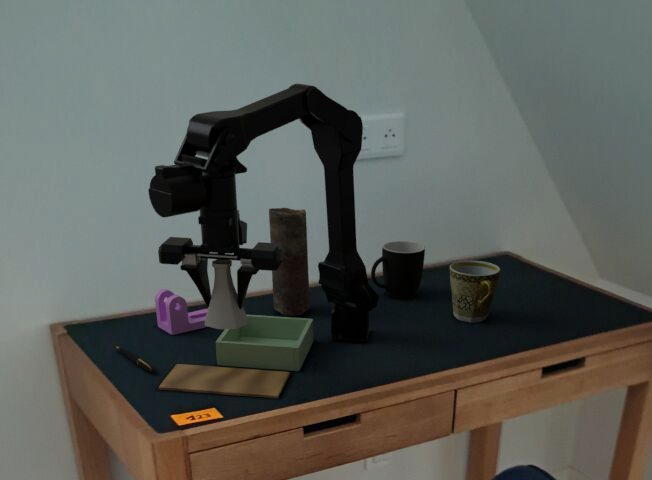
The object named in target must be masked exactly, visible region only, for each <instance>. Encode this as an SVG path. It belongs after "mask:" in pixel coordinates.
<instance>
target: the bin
mask: <svg viewBox="0 0 652 480" xmlns="http://www.w3.org/2000/svg"><path fill="white" fill-rule="evenodd" d="M246 316H247V324H246V325H244V326H242V327H240V328H237V329H223V331H222V332H221V334H220V335H219V337H218V338H216V341H215V353H216V365H217V366H219V367H233V368H247V369H261V370H275V371H288V372H290V371H291V372H300V370H301V368H302V366H303V365H304V362H305V360H306V358H307V356H308V353H309V351H310V349H311V348H312V345H313V343H314V318H306V317H305V318H304V317H303V318H302V317H292V316H276V315H259V314H246Z"/></svg>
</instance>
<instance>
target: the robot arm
mask: <svg viewBox="0 0 652 480" xmlns="http://www.w3.org/2000/svg"><path fill="white" fill-rule="evenodd" d="M297 120H299V121H300V123H301V124H302V125H303V126H305V127H306V128H307V129H308V130H309V131H310V134H311V139H312V143H313V149H314V151H315V153H316V154H317V157H318V158H319V160H320V162H321V164H322V166H323V170H324V171H323V172H324V173H323V175H324V187H325V188H324V189H325V207H326V221H327V240H328V252H327V254H326V256H325V258H324V260H323V261H319V262H318V264H317V268H318V275H319V276H318V277H319V278H318V283H317V284H319V285H321V290H322V292H324V294H325V297H326V300H327V302H328V303H333V304H334V306H333V309H332V311H331V313H330V315H331V316H330V320H331V321H330V324H331V325H330V331H331V332H330V333H331V335H332V337H331V338H332V339H331V340H332V341H334V342H350V343H361V344H362V343H363V344H364V343H367V342H368V338H369V336H370V332H371V328H370V312H372V311H373V309H376V308H377V307H378V302H379V298H380V295H379V294H378V293H377V292H376V291H375V290H374V288H372V286H371V285H370V284H369V279H368V273H367V267H366V265H365V263H364V261H363V259H362V257H361V255H360V254H359V252H358V247H357V225H356V223H357V222H356V221H357V220H356V200H355V178H354V177H355V176H354V173H355V172H354V166H355V163H356V161H357V159H358V157H359V155H360V153H361V151H362V147H363V146H362V145H363V134H364V133H363V132H364V125H363V119H362V117H361V116H360V115H359V114H358V113H357V112H356V111H354V110H352V109H347V107H345V106H344V105H342V104H341V103H339V102H337V101H335V100H334V99H332V98H331V97H329V96H327V95H326V94H325V93H324V92H322V90H321V89H319V88H318V87H317V86H316V85H315V86H314V85H312V84H311V85H310V84H304V83H294V84H291V85H290V86H289V87H288V88H286V89H283V90H281V91H278V92H276V93H273V94H271V95H269V96H266V97H264V98H262V99H259V100H256V101H254V102H251V103H250V104H247V105H244V106H241V107H239V108H237V109H230V110H214V111H213V110H212V111H205V112H201V113H197V114H195V115H193V116H192V117H191V118H189V120H188V125H187V129H186V134H185V136H184V138H183V140H182V141H181V145H180V146H179V149H178V151H177V154H176V156H175V158H174V160H173V164H170V165H164V164H161V165H155V167H154V174H155V175H154V176H152V178H151V180H150V182H149V188H148V197H149V201H150V204H151V206H152V208H153V210H154V211H155V213H156V214H157V215H158V216H160V217H161V218H170V217H175V216H180V215H185V214H192V213H197V212H199V216H198V218H197V221H198V225H200V233H201V234H200V235H201V244H200V245H199V244H194V241H193V239H192V238H191V237H178V236H170V237H168V238H167V239H166V240H165V241H163V242H162V243H161V245H159V247H158V251H157V254H158V261H159V262H158V263H159V264H161V265H173V266H174V265H176V266H178V265H179V264H180V263H181V265H180V267H179V268H180V270H181V271H185V272H186V273H187V275H188V276H189V277H190V280H192V282H193V283H194V285H195V286H196V288H197V290H198V292H199V294H200V295H201V298H202V299H203V301H204V303H205V305H206V306H207V308H208V307H209V304H210V300H211V295H212V292H211V285H210V279H209V272H208V271H209V270H208V266H209V265H208V264H209V260H217V259H221V260H231V261H239V262H240V264H241V265H240V267H239V268H238V269H237V270H236V287H237V288H236V292H237V296H238V306H239V308H240V309H242V307H243V308H244V304H245V300H246V296H247V293H248V289H249V286H250V282H251V280H252V277H253V276H254V275H257V274H258V273H259V271H270V272H272V271H274V270H277V269H278V268H279V266H280V265H281V264H282V262H283V261H284V255H283V248H282V246H281V245H280V244H279V243H271V242H261V241H258V242H257V243H256V245H254V247H253V248H251V247H250V248H248V247H241V246H244V244H247V242H248V222H246V221H244V220H241V218H240V210H239V209H238V198H237V197H238V195H237V181H236V179H237V178H236V175H239V174H245V173H247V172H248V167H246V166H245V165H244V164H243V163H242V162H241V161H239V158H238V156H239V155H240V154H241V155H242V153H243V152H245V151H246V150H247V149H248V148H249V146H250V144H251V143H252V141H254V140H255V139H257V138H258V137H260V136H263V135H265V134H267V133H269V132H272V131H274V130H277V129H279V128H281V127H284V126H286V125H288V124H291V123H293V122H295V121H297ZM203 157H204V158H203Z"/></svg>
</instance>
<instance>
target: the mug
mask: <svg viewBox="0 0 652 480" xmlns="http://www.w3.org/2000/svg"><path fill="white" fill-rule="evenodd" d="M381 248H382V249H381V250H382V251H381V256H380V257H379V258H377V259H376V260H375V261H374V263H373V264H372V266H371V272H370V276H371V280H372V282H373V283H374V285H375V286H376V287H378V288H381V289H384V290H385V292H386V295H387V296H388V297H391V298H393V299H399V300H408V299H412V298H414V297H416V296H417V294H418V292H419V290H420V286H421V282H422V278H423V272H424V264H425V255H426V254H425V253H426V248H425V246H424V245H423V244H421V243H419V242H414V241H410V240H409V241H408V240H395V241H394V240H393V241H388V242H385V243H384V244H382V247H381ZM380 264H381V265H382V279H383V283H380V282H378V280H377V278H376V272H377V267H378V266H379V265H380Z"/></svg>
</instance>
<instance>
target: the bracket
mask: <svg viewBox="0 0 652 480" xmlns="http://www.w3.org/2000/svg"><path fill="white" fill-rule="evenodd" d="M165 299H166V300H165ZM154 306H155V311H156V312H155V313H156V321H157V328H159V329H160V330H163V331H165V332H166V333H167V334H170V335H171V336H174V335H180V334H184V333H188V332H192V331H195V330H200V329H204V328H209V327H208V326H204V325H205V318H206V314H207V311H208V308H203V309H199V310H194V311H191V312H189V311H188V302H187V301H186V299H185V298H184V297H182V296H181V295H179V294H175V293H174V292H173V291H171V290H169V289H168V288H162V289H159V290H158V291H157V292H156V293H155V296H154Z"/></svg>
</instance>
